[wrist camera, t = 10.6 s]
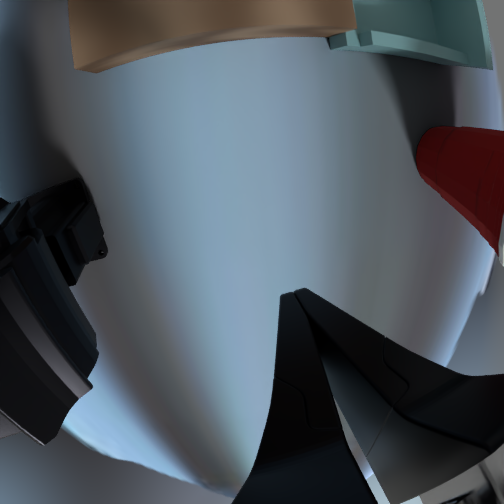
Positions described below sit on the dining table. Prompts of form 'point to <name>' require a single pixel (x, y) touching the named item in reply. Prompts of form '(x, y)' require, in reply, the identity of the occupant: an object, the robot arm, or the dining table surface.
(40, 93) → the dining table surface
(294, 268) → the dining table surface
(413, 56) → the box
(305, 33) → the walnut plate
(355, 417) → the robot arm
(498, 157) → the plastic cup
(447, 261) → the dining table surface
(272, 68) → the dining table surface
